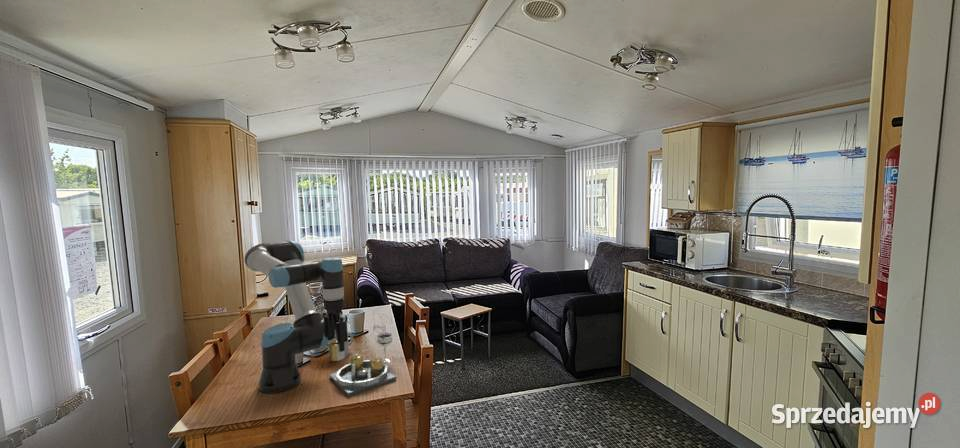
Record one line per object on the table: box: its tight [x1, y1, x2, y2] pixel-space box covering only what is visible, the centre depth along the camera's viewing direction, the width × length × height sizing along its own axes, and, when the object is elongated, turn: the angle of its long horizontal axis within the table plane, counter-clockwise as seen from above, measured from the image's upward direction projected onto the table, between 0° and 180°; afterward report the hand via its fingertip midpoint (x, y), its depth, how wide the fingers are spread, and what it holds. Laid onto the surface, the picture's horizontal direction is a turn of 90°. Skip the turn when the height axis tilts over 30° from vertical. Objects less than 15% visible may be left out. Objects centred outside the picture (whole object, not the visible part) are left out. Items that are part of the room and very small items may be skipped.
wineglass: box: [376, 332, 393, 364], centre depth 175 cm, size 7×7×12 cm
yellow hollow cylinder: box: [328, 341, 339, 362], centre depth 147 cm, size 5×5×6 cm
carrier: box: [329, 353, 397, 397], centre depth 157 cm, size 20×20×8 cm
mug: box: [333, 330, 354, 357], centre depth 183 cm, size 12×8×11 cm
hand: (337, 357), depth 147 cm, fingers closed on yellow hollow cylinder, 5 cm apart
